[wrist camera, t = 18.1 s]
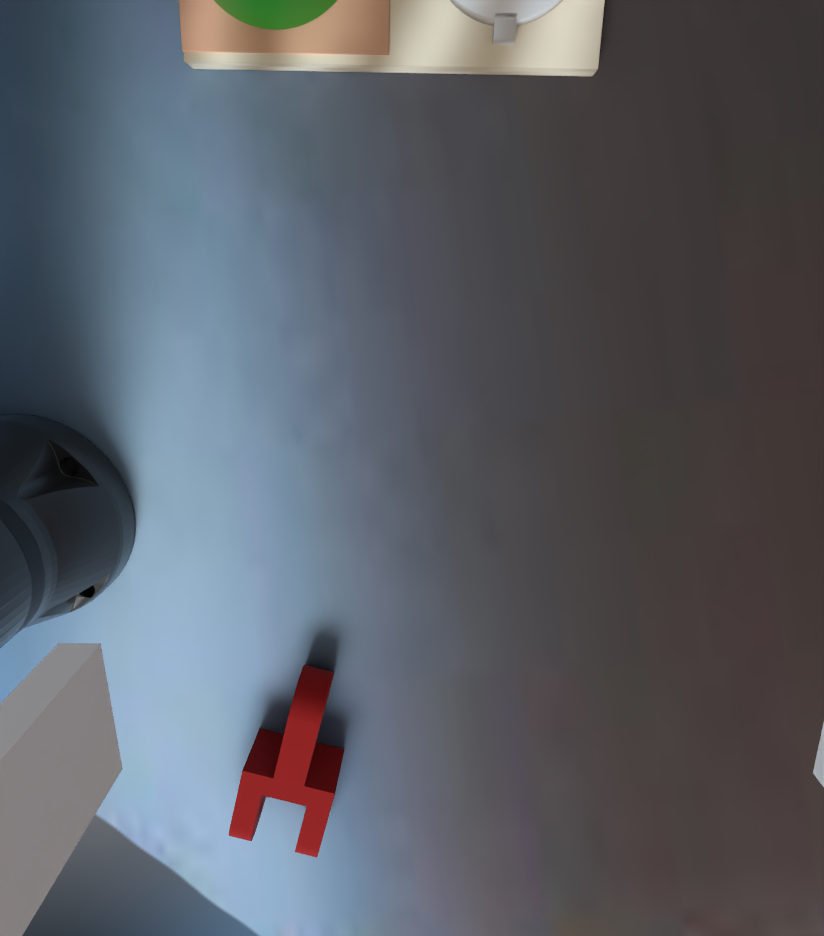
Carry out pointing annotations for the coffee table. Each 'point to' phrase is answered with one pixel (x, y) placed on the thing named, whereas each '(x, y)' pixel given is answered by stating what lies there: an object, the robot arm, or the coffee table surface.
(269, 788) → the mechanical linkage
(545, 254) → the coffee table surface
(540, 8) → the board
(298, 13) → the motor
